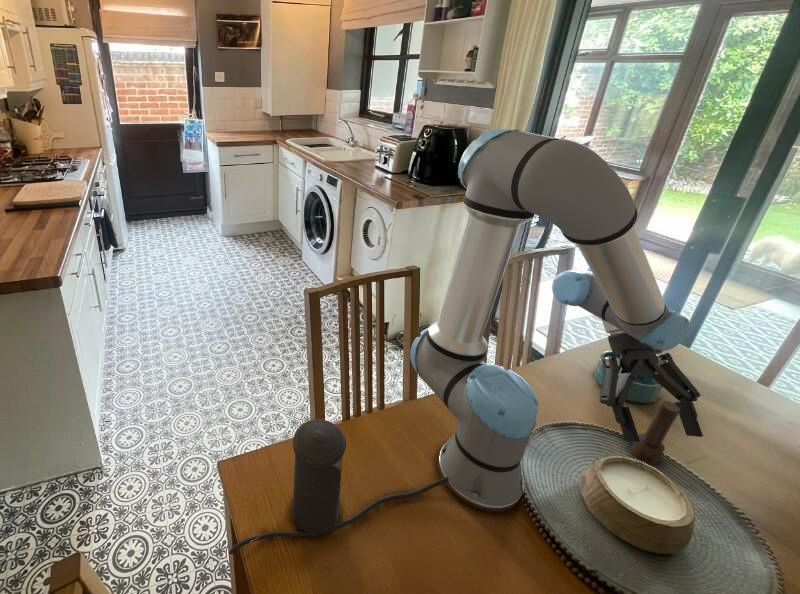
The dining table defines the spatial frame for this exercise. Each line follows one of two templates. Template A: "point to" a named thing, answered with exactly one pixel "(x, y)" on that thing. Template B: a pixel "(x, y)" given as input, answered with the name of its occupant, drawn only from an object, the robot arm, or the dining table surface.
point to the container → (317, 475)
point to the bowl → (641, 387)
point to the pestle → (655, 434)
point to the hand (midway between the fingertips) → (663, 438)
